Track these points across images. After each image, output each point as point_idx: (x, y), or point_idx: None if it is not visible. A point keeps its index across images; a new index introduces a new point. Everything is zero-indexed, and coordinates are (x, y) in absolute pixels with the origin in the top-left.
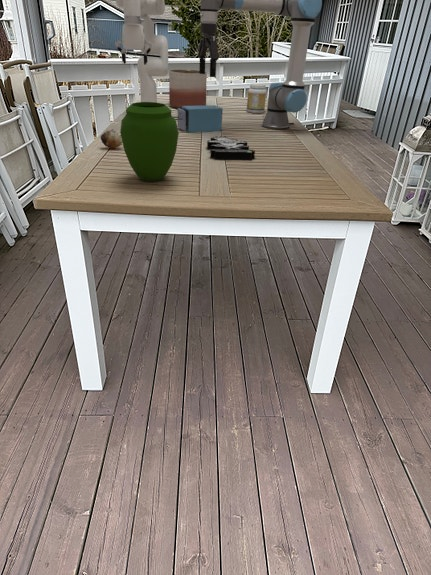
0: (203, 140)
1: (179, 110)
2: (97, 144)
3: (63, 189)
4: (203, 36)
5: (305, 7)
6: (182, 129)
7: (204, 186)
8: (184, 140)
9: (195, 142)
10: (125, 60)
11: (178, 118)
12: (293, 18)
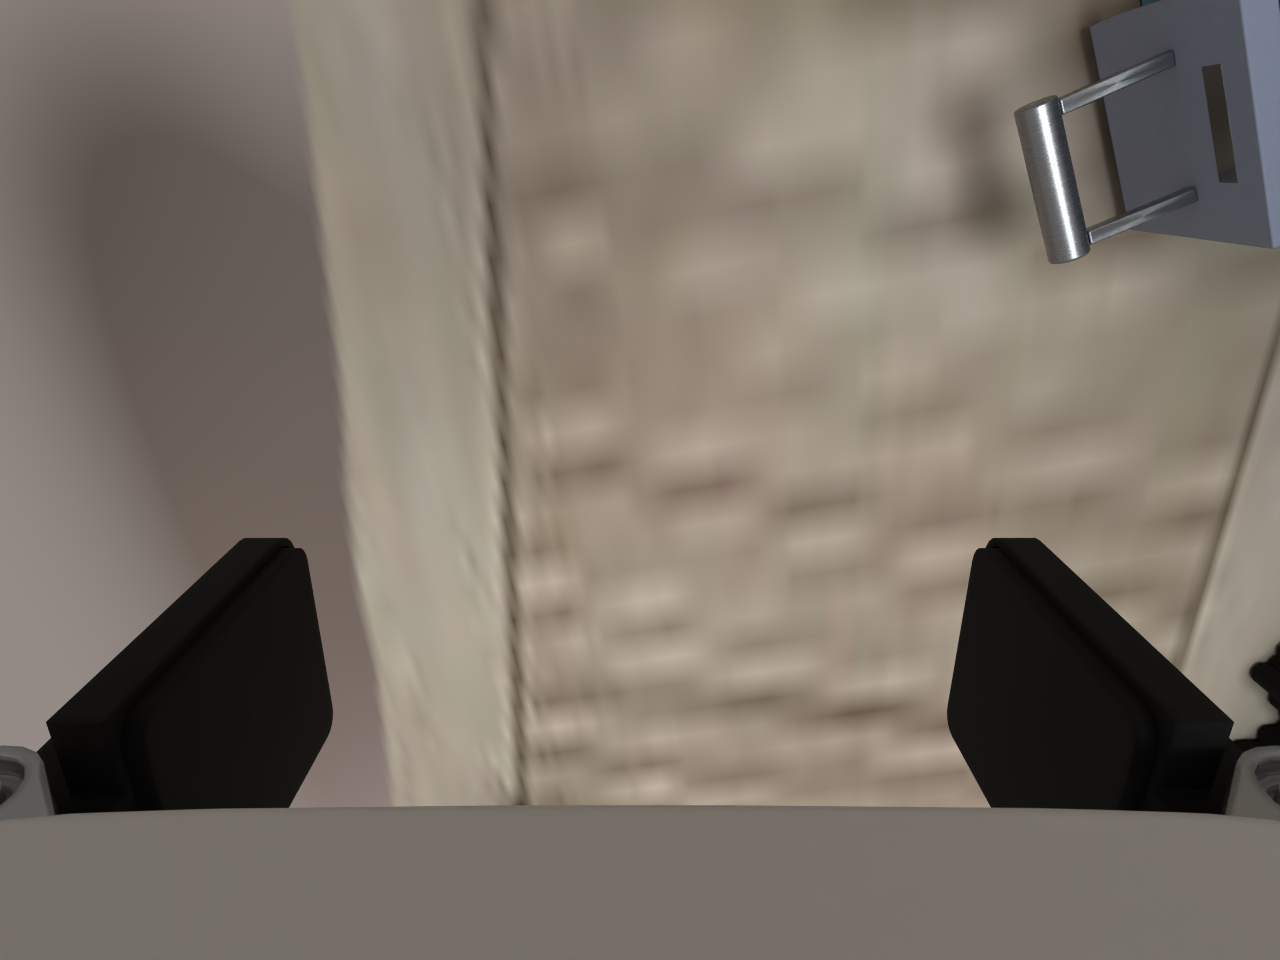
0: (1236, 535)
1: (1239, 80)
2: (409, 766)
3: None
4: None
5: None
6: (1123, 194)
7: None
8: (1065, 560)
9: (1146, 610)
10: (279, 650)
11: (1158, 50)
12: None
